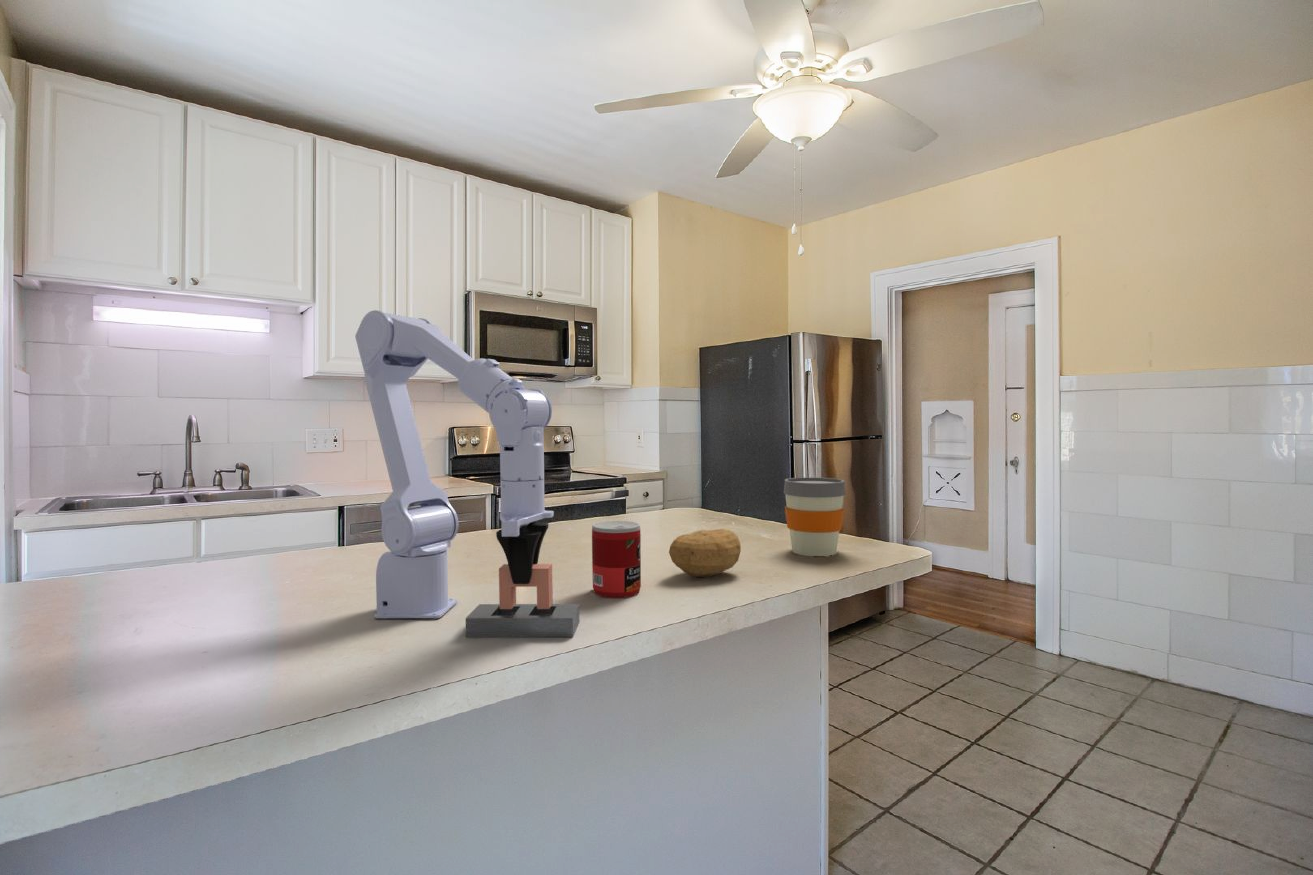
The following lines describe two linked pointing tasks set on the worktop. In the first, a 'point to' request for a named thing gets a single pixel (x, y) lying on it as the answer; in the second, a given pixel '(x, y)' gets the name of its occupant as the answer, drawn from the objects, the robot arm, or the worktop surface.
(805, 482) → the reusable coffee cup
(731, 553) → the potato
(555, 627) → the grey slotted block
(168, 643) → the worktop surface
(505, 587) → the clip
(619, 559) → the canned food
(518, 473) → the robot arm
